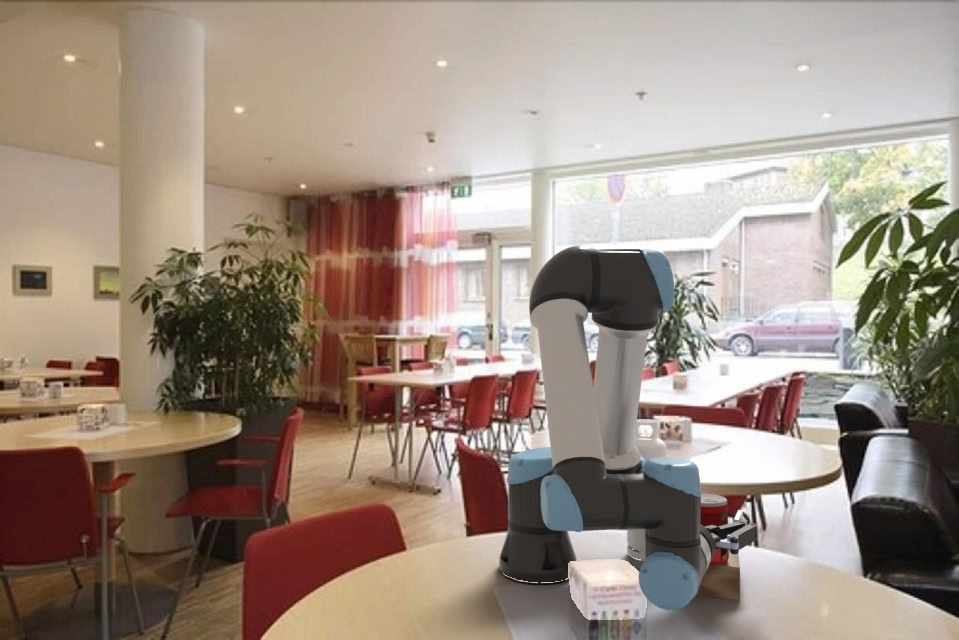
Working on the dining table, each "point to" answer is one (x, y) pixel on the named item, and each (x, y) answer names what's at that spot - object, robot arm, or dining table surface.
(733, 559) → the walnut box
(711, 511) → the canned food
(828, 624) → the dining table surface
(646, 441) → the bottle
